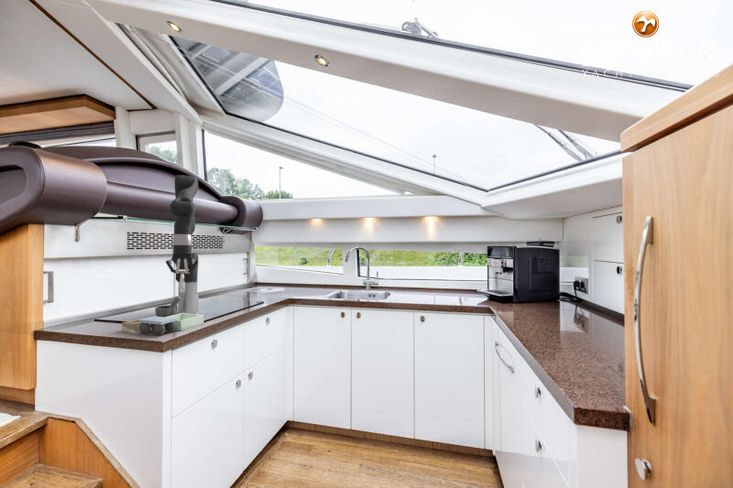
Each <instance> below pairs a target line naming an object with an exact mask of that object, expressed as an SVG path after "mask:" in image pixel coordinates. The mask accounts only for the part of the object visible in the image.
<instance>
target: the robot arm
mask: <svg viewBox="0 0 733 488" xmlns="http://www.w3.org/2000/svg"><path fill="white" fill-rule="evenodd" d="M198 190H199V181H198V178H197V177H196V176H193V175H184V174H183V175H181V174H177V175H175V177H174V194H175V195H174V197H175V198H174V199H173V200H172V201H171V203H170V205H169V209H168V210H169V213H170V214H171V215H172V216H174V217H175V222H174V224H173V238H172V257H171V258H170V259H168V260H166V261H165V264H166V265H167V267H168V268H169V270H170V272H171V273H174V274H175V282H177V283H178V285H177V289H178V290H177V293H178V294H177V295H178V297H180V298H181V300H180V301H179V302H178V304H177V306H178V311H177V314H180V313H187V314H198V313H199V294H198V271H199V270H198V269H199V255H198V253H197V252H196V253H195V252H193V251H192V249H193V248H192V245H193V244H192V243H193V242H192V235H194V232H195V230H196V218H195V215H196V211H197V206H196V204H195V203H194V198H195V196H196V194H197V193H198ZM173 263H174V264H175V269H174V267H173V266H172V264H173ZM179 271H185V292H184V293H179Z"/></svg>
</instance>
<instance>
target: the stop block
mask: <svg viewBox="0 0 733 488" xmlns="http://www.w3.org/2000/svg"><path fill="white" fill-rule="evenodd" d="M140 319H141V318H140ZM140 319H137V318H136V319H132V320H128V321H122V323H121V325H122V326H121V333H131V334H137V333H141V332H140V331H139V325H140V324H141V323H140V322H139V320H140ZM149 325H150V323H149Z"/></svg>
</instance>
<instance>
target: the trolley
mask: <svg viewBox="0 0 733 488" xmlns="http://www.w3.org/2000/svg"><path fill="white" fill-rule="evenodd" d="M174 321H176V318H168V317H157V315H154V316H149V317H145V318H140V320H139V322H140V323H141V324H140V325H139V331H140V332H139V333H140V334H142V335H145V334H148V333H149V332H150V331H151V330H152V332H153V333H154V335H156V336H162V335H164V334H165V332H166V333H168V334H169V333H172V332H175V328H176V325H175V323H174ZM149 323H150V325H149ZM163 324H165V326H164V325H163Z"/></svg>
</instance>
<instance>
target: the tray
mask: <svg viewBox="0 0 733 488" xmlns="http://www.w3.org/2000/svg"><path fill="white" fill-rule="evenodd" d="M167 317H168V318H176V321H174V323H175V325H176V328H175V330H174V332H175V331H176V332H178V331H179V332H182V331H185V330H190V329H193V328H196V327H200V326H202V325H204V323H205V321H204V319H205V318H204V317H205V315H204V314H198V313H194V314H187V313H180V314H178V313H176V315H171V316H167ZM163 325H164V326H165V324H163Z"/></svg>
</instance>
